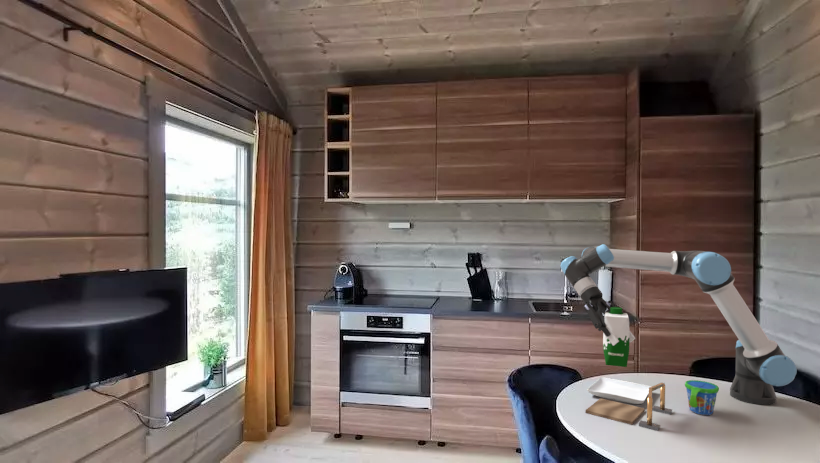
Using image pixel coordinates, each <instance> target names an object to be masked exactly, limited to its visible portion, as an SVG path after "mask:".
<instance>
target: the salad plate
mask: <svg viewBox="0 0 820 463" xmlns="http://www.w3.org/2000/svg"><path fill="white" fill-rule="evenodd" d="M652 386H653V385H652ZM652 386H651V385H647V384H643V383H637V382H632V381H626V380H621V379H616V378H609V377H605V376H604V377H603V376H601V377H599V378H598V379H597V380H595V382H593V383H592V384H591V385H590V386H589V387H588V388H587V389H586V391H587V392H588V393H589V394H591V395H593V396H596V397H599V398H602V399H606V400H610V401H615V402H619V403H624V404H629V405H640V404H641V405H642V404H643V403H644V402H645V401H646V400H647V397H648V394H649V388H650V387H652Z"/></svg>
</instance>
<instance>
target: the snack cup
mask: <svg viewBox="0 0 820 463" xmlns="http://www.w3.org/2000/svg"><path fill="white" fill-rule="evenodd" d="M684 386H685V388H686V395H687V402H688V408H689V411H691V412H693V413H695V414H697V415H702V416H710V415H712V414H714V410H715V405H716V400H717V394H718V393H719V390H720V388H719V386H718V385H717V384H715V383H712V382H708V381H704V380H695V379H691V380H687V381H685V383H684Z"/></svg>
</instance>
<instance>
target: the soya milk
mask: <svg viewBox="0 0 820 463" xmlns="http://www.w3.org/2000/svg"><path fill="white" fill-rule="evenodd" d="M603 317H604V321H605V324H606V326H608V328H609V329H610V330H611V332H612V333H613V334H614V335H615V336H616V337H617V339H618V340H619V342H618V343H617V344H615V345H614V346H613V345H612V343H611V342H610V341H609V339H608V338H607V336H606V335H605V334H604V333H603V332H602V333H603V334H602V337H603V338H602V348H603V349H602V351H603V356H604V362H605V365H606V366H612V367H623V368H627V367H628V361H629V356H630V343H629V338H630V331H631V330H630V324H631V323H630V318H629V315H628V313H626V312H625V313H624V312H623V308H622V307H619V306H615V307H611V308H610V312H605V314H603Z"/></svg>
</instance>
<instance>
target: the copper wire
mask: <svg viewBox="0 0 820 463" xmlns="http://www.w3.org/2000/svg"><path fill="white" fill-rule="evenodd" d="M658 389H659V391H660V392H659V395H660V396H659V406H658V405H653V400H654V399H653V392H654V391H655V390H658ZM646 400H647V401H646V402H647V403H646V404H647V405H646V421H645V420H640V421H639V422H638V427H641V428H646V429H650V430H653V431H656V432H657V431H658V432H659V430H660V428H661V425H660V424H657V423H653V412H656V413H661V414H666V415H670V416H671V415H672V414H673V409H671V408H666V384H665V382H660V383H658V384H655V385H652V387H650V388H649V394H648V396H647V398H646Z"/></svg>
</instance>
